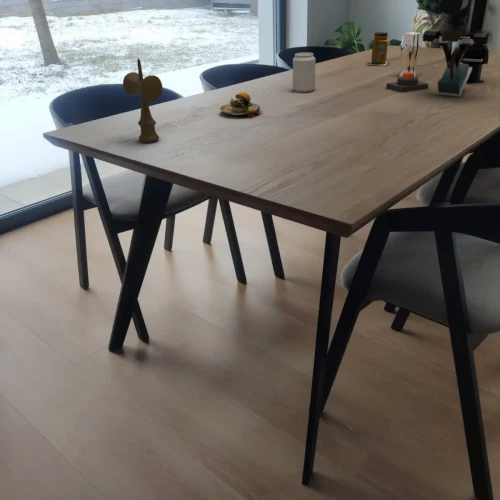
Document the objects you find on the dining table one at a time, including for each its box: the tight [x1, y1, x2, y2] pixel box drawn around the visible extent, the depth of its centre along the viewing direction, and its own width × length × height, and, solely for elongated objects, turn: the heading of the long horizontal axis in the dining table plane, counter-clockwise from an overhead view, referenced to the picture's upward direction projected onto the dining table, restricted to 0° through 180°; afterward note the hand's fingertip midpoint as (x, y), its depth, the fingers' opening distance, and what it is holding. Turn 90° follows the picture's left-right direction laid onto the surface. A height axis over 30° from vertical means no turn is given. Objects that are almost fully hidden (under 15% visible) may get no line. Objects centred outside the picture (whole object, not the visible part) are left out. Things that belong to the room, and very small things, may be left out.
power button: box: [402, 72, 414, 79], centre depth 172 cm, size 4×4×2 cm
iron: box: [436, 46, 472, 98], centre depth 160 cm, size 12×7×11 cm, turn 147°
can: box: [292, 52, 316, 93], centre depth 174 cm, size 8×8×12 cm
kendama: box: [122, 58, 163, 143], centre depth 127 cm, size 6×10×20 cm, turn 43°
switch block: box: [385, 76, 429, 93], centre depth 173 cm, size 11×8×4 cm
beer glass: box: [398, 31, 423, 77], centre depth 187 cm, size 7×7×15 cm
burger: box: [219, 86, 261, 119], centre depth 151 cm, size 12×12×8 cm
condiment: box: [368, 31, 389, 66], centre depth 213 cm, size 7×8×12 cm
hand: (452, 66), depth 158 cm, fingers closed on iron, 2 cm apart
